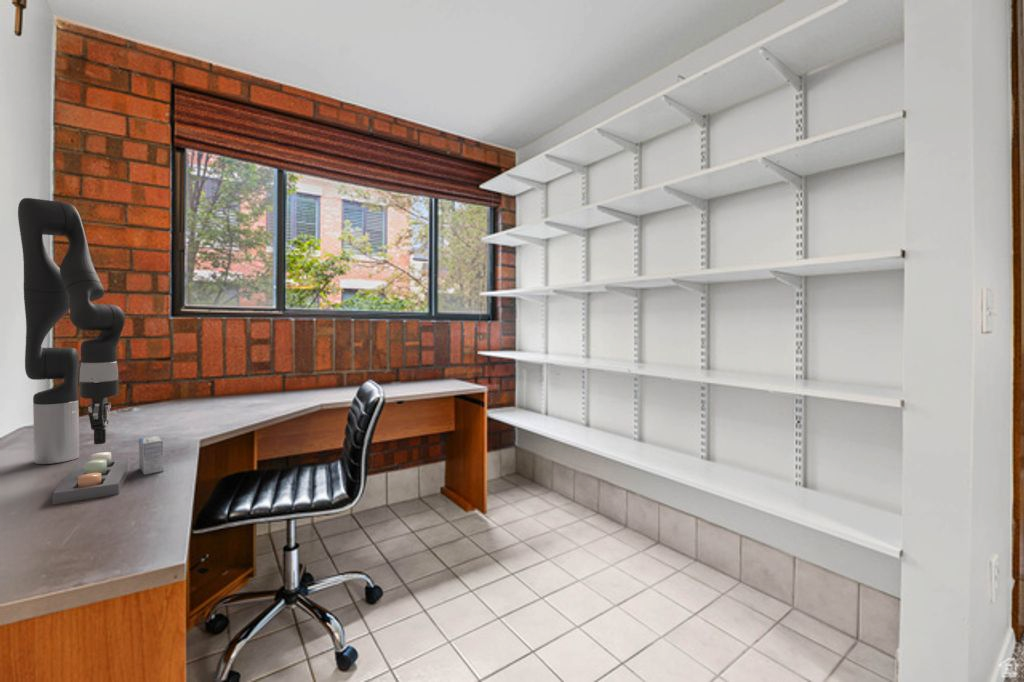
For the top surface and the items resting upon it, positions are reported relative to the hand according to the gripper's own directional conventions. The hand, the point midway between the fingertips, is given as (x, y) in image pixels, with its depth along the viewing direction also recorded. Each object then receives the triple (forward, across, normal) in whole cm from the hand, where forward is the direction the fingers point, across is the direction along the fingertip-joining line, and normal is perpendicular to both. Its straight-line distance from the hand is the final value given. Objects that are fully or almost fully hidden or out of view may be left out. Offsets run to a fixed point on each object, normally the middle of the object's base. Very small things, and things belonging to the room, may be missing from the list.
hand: (100, 443), depth 117 cm
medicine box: (+9, +2, +11) cm, 14 cm away
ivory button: (+6, 0, 0) cm, 6 cm away
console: (+8, +8, 0) cm, 12 cm away
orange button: (+7, +16, 0) cm, 18 cm away
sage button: (+6, +8, 0) cm, 10 cm away
